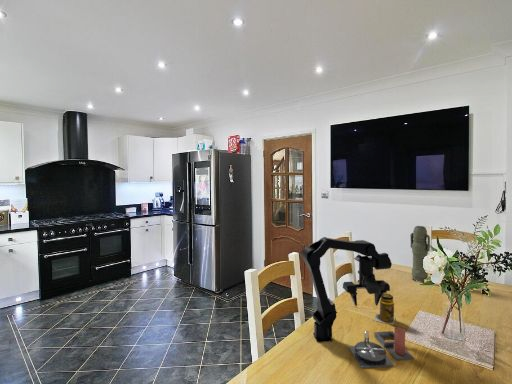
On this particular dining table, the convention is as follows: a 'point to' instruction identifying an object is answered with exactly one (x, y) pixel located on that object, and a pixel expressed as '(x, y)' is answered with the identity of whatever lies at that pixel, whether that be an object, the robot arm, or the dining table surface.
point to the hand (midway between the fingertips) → (366, 305)
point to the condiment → (386, 310)
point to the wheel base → (370, 364)
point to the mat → (399, 357)
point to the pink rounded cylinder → (399, 341)
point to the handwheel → (370, 350)
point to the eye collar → (381, 335)
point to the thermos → (419, 252)
